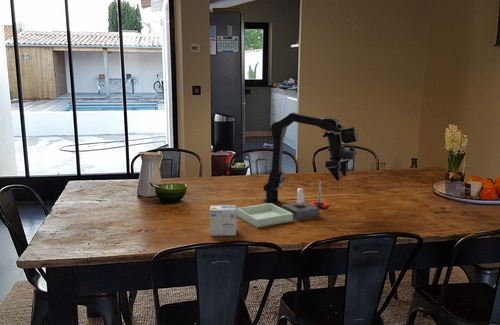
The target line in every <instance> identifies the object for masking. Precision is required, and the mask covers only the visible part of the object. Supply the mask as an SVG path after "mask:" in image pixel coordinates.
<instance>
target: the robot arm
mask: <svg viewBox="0 0 500 325" xmlns="http://www.w3.org/2000/svg"><path fill="white" fill-rule="evenodd" d="M293 123H299V124H305V125H308V126H315V127H318V128H320V129H322V130H324V131H325V132H324V134H323V135H322V138H327V142H328V150H327V151H328V152H329V153H330V157H329V159H328V160H326V161H325V162H324V167H325V168H326V170H328V171H329V172H330V173H331V175H332V176H333V178H334V179H335V180H336V182H339V181H340V172H341V174H342V177H346V176H347V169H348V167H347V166H348V164H349V162H350V161H352V160H354V159H356V155H357V150H356V148H355V147H353V146H351V147H350V148H348V149H347V148H345V146H344V145H343V144H342V143H344V144H345V145H346V144H351V143H357V142H359V136H358V135H359V134H358V133H357V130H356V127H355V126H351V127H348V128H344V127H343V125H341V124H340V123H339V120H338V118H336V117H328V116H327V117H318V116H314V115H313V116H312V115H308V114H301V113H297V112H291V113H290V112H289V113H288V114H287V115H286V116H285V117H283V118H282V119H280V120H278V121H275V122H273V123H272V124H271V125H270V129H271V137H272V139H273V140H272V141H273V143H272V144H273V146H272V158H271V159H272V162H271V170H270V173H269V175H268V180H267V183H266V184H265V185H264V186H263V187H262V188H263V190H264V191H265V199H262V201H263V202H265V203H266V204H268V203H272V204H276V203H281V200H279V190H278V189H279V188H280V186H282V184H284V181H286V179H285V175H286V172H285V171H283V170H282V162H283V145H284V139H285V136H286V133H287V129H288V127H289V126H290V125H292V124H293Z"/></svg>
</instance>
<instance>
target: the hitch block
mask: <svg viewBox="0 0 500 325" xmlns="http://www.w3.org/2000/svg"><path fill="white" fill-rule="evenodd" d="M281 208H282V209H284V210H286V211H289V212H291V213H293V221H294V220H295V221H302V220H308V219H313V218H319V217H320V216H319V215H320V208H318V207H315V206H313V205H311V203H308V202H306V201H304V208H297V201H296V202H291V203H284V204H281Z"/></svg>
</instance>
